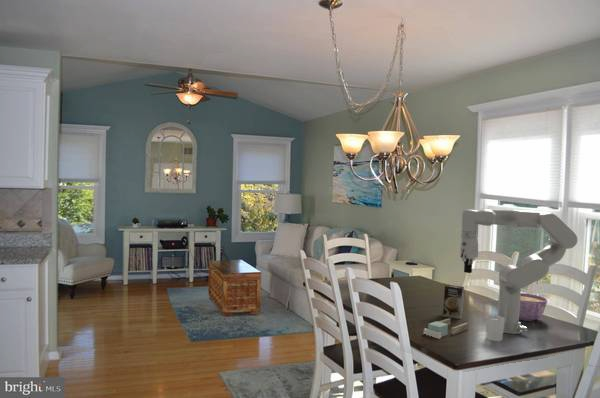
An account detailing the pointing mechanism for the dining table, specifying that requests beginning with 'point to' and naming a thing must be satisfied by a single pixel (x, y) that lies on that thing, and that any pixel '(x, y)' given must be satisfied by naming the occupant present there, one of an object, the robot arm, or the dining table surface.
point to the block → (439, 327)
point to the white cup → (494, 327)
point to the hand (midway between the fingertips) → (467, 272)
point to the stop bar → (432, 333)
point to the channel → (457, 328)
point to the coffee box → (453, 301)
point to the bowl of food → (531, 307)
